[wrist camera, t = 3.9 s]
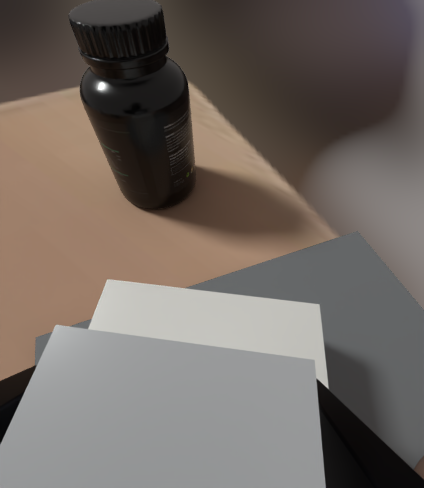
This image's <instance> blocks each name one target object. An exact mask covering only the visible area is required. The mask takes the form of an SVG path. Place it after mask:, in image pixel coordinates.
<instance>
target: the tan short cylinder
mask: <svg viewBox="0 0 424 488" xmlns="http://www.w3.org/2000/svg"><path fill="white" fill-rule="evenodd" d="M414 471H415V472H417V473H418V474H419V475H420V476H421V477H422V478H423V479H424V456H423V457H422V458H421V459H420V460H419V462H418V463H417V465H416V466H415V468H414Z"/></svg>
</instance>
